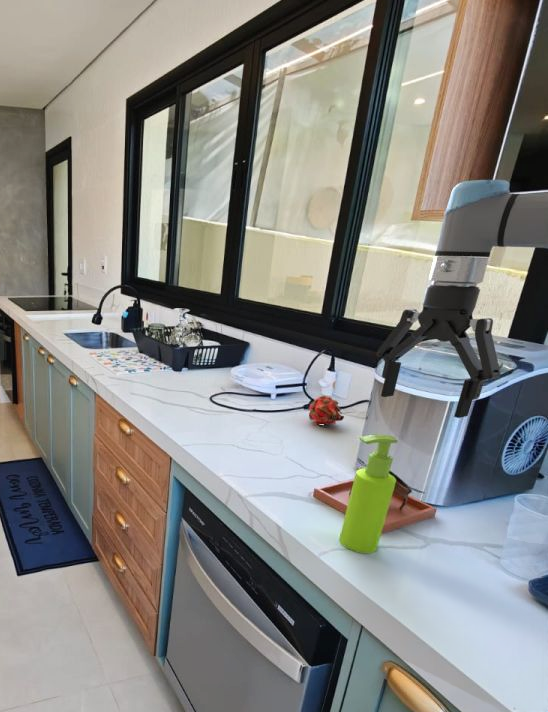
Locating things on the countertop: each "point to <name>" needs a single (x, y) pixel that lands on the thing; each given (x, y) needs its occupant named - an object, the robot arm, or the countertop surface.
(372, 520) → the soap dispenser
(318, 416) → the dragon fruit
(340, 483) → the tray
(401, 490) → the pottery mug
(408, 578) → the countertop surface
